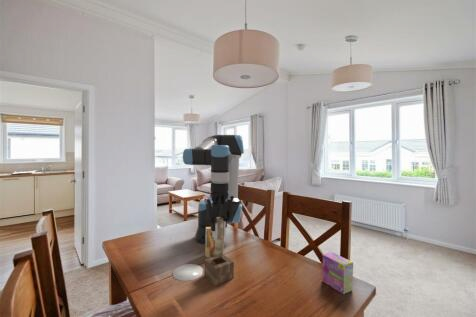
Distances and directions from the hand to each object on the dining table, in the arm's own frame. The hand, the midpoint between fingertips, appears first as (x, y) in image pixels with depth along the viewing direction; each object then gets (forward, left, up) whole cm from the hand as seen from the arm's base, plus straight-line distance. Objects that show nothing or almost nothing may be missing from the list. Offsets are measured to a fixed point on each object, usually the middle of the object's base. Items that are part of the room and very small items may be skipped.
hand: (218, 236), depth 95 cm
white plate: (+9, -11, -18) cm, 23 cm away
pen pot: (0, 0, -18) cm, 18 cm away
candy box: (-9, -18, -19) cm, 27 cm away
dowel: (0, 0, -8) cm, 8 cm away
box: (-37, +33, -19) cm, 53 cm away
